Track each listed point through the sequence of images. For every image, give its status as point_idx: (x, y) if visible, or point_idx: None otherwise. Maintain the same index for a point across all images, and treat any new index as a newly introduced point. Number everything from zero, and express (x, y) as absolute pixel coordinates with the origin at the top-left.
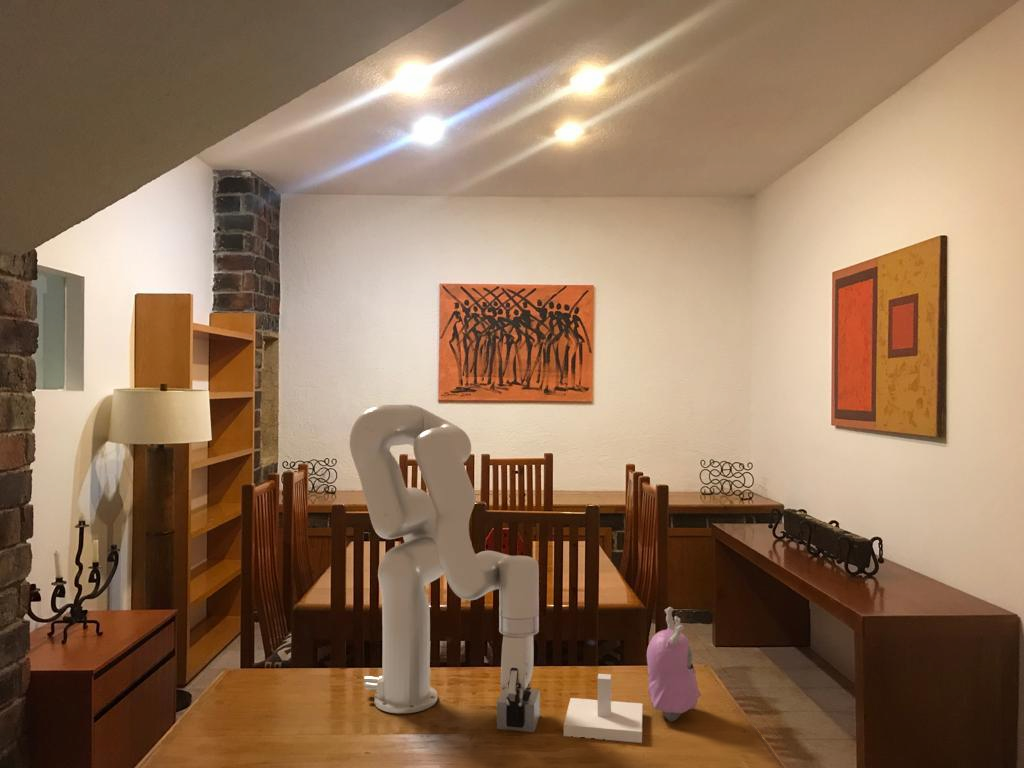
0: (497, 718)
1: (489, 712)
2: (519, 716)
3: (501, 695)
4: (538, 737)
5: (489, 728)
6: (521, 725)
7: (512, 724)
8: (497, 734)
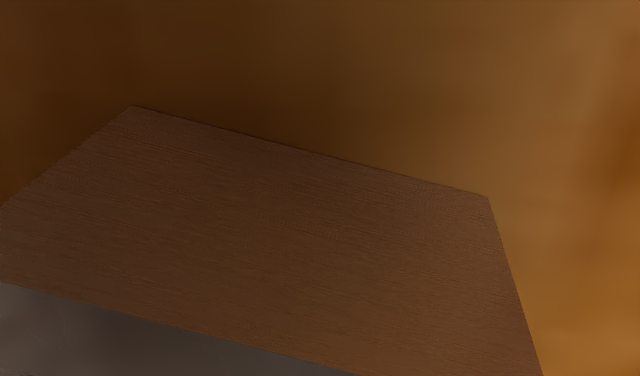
0: (74, 152)
1: (530, 46)
2: None
3: (185, 349)
4: None
5: (135, 31)
6: None
7: None
8: (29, 103)
